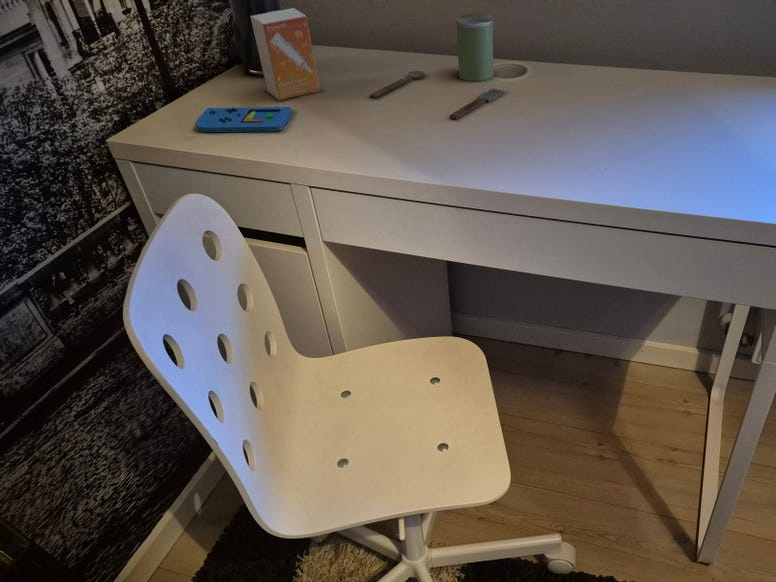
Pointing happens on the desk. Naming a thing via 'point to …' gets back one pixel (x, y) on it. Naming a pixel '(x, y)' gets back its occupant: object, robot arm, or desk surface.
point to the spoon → (398, 84)
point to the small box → (286, 53)
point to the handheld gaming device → (243, 119)
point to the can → (475, 46)
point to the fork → (477, 103)
